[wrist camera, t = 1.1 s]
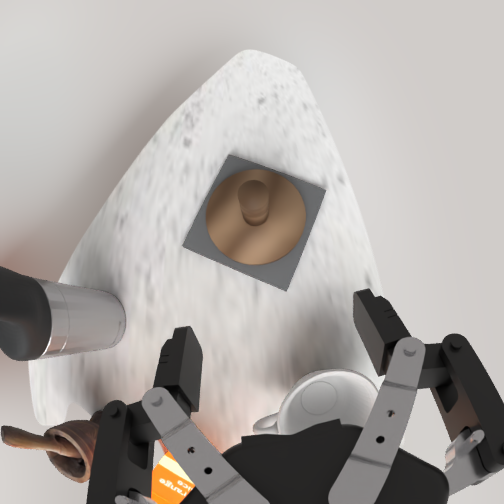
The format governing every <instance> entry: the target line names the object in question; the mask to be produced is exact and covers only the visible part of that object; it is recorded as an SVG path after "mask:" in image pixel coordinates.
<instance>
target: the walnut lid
mask: <svg viewBox="0 0 504 504" xmlns="http://www.w3.org/2000/svg"><path fill="white" fill-rule="evenodd" d="M305 222H306V211H305V205H304V202H303V199H302V197H301V195H300V193H299V191H298V190H297V189H296V187H295V186H294V185H293V184H292V183H291V182H290V181H288V180H287V179H286V178H284V177H283V176H281V175H279V174H277V173H274V172H271V171H267V170H259V169H254V170H246V171H242V172H238V173H236V174H234V175H232V176H230V177H228V178H227V179H225V180H224V181H223V182H222V183H221V184H220V185H219V186H218V187H217V188H216V189H215V190H214V192H213V193H212V195H211V197H210V199H209V202H208V205H207V209H206V226H207V230H208V233H209V235H210V237H211V239H212V241H213V242H214V244H215V245H216V246H217V248H218V249H219V250H220V251H221V252H222V253H223V254H224V255H226V256H227V257H229V258H230V259H232V260H234V261H236V262H239V263H242V264H247V265H264V264H269V263H272V262H275V261H277V260H279V259H281V258H283V257H284V256H286V255H287V254H288V253H289V252H290V251H291V250H292V249H293V248H294V247H295V246H296V244H297V243H298V241H299V240H300V238H301V235H302V233H303V230H304V227H305Z"/></svg>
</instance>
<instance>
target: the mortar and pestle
mask: <svg viewBox="0 0 504 504" xmlns="http://www.w3.org/2000/svg"><path fill="white" fill-rule="evenodd" d="M101 415H102V411H97V412H95V413H94V415H93V416H92V418H91V419H90V421H88V420H74V421H68V422H65V423H63V424H60V425H58V426H54V427H52V428H50V429H48V430H47V431H46V432H45V433H44V436H41V435H35V434H32V433H29V432H27V431H24V430H22V429H19V428H15V427H12V426H2V427H1V436H2V441H3V442H4V443H5V444H7V445H9V446H12V447H18V448H24V449H37V450H46V453H47V455H48V456H49V458H50V461H51V462H52V464H53V465H54V466H55V467H56V468H57V469H58V471H59V472H61V473H62V474H63V475H65V476H66V477H67V478H69V479H71V480H73V481H76V482H79V483H83V482H86V481H87V480H89V479H90V472H91V466H92V460H93V454H94V449H95V444H96V439H97V434H98V429H99V424H100V420H101Z"/></svg>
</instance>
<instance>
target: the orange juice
mask: <svg viewBox="0 0 504 504" xmlns="http://www.w3.org/2000/svg"><path fill="white" fill-rule="evenodd" d="M194 486H195V485H194V484H193V482H192V481H191V480H190V479H189V477H188V476H187V475H186V474H185V472H184V471H183V470H182V468H181V467H180V466H179V464H178V463H177V462H176V460H175V459H174V458H173V456H172V455H171V453H170V452H169V451H168V452H167V453H166V454H165V455H164V456H163V458H162V459H161V460H160V461H159V463H158V464H157V465H156V467H155V468H154V470H153V472H152V496H151V499H153V500H154V501H155V502H156V503H157V504H179V503H180V502H181V501H182V500H183V499H184V498H185V497H186V495H187V494H188V493H189V492H190V491H191V490H192V489H193V488H194Z"/></svg>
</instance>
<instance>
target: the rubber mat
mask: <svg viewBox="0 0 504 504" xmlns="http://www.w3.org/2000/svg"><path fill="white" fill-rule="evenodd" d="M254 169H259V170H267V171H271V172H274V173H277V174H279V175H281V176H283V177H284V178H286V179H287V180H288V181H290V182H291V183H292V184H293V185H294V186H295V187H296V189H297V190H298V191H299V193H300V195H301V197H302V199H303V202H304V205H305V211H306V222H305V227H304V230H303V233H302V235H301V238H300V240H299V241H298V243H297V244H296V246H295V247H294V248H293V249H292V250H291V251H290V252H289V253H288V254H287V255H286V256H284V257H283V258H281V259H279V260H277V261H275V262H272V263H269V264H264V265H247V264H242V263H239V262H236V261H234V260H232V259H230V258H229V257H227V256H226V255H224V254H223V253H222V252H221V251H220V250H219V249H218V248H217V246H216V245H215V244H214V242H213V241H212V239H211V237H210V235H209V233H208V230H207V226H206V209H207V205H208V202H209V199H210V197H211V195H212V193H213V192H214V190H215V189H216V188H217V187H218V186H219V185H220V184H221V183H222V182H223V181H224V180H225V179H227V178H228V177H230V176H232V175H234V174H236V173H238V172H242V171H246V170H254ZM325 192H326V190H325V189H322V188H320V187H317V186H315V185H312V184H310V183H307V182H305V181H302V180H300V179H297V178H294V177H292V176H289V175H286V174H284V173H281V172H278V171H276V170H273V169H270V168H267V167H265V166H262V165H259V164H256V163H253V162H250V161H247V160H244V159H241V158H238V157H235V156H232V155H228V157H227V159H226V161H225V163H224V165H223V166H222V168H221V170H220V172H219V174H218V176H217V178H216V180H215V182H214V183H213V185H212V187H211V189H210V191H209V193H208V195H207V197H206V199H205V201H204V203H203V205H202V207H201V209H200V211H199V213H198V215H197V217H196V219H195V221H194V223H193V225H192V227H191V229H190V231H189V233H188V235H187V237H186V239H185V241H184V244H183V247H184V248H187V249H189V250H191V251H193V252H196V253H198V254H200V255H202V256H205V257H207V258H209V259H212V260H214V261H216V262H219V263H221V264H223V265H225V266H228V267H230V268H232V269H235V270H237V271H239V272H242V273H244V274H246V275H249V276H251V277H253V278H256V279H258V280H260V281H263V282H265V283H268V284H270V285H272V286H275V287H277V288H279V289H282V290H284V291H287V289H288V287H289V284H290V282H291V279H292V277H293V275H294V272H295V270H296V267H297V265H298V262H299V260H300V257H301V255H302V252H303V250H304V247H305V245H306V242H307V240H308V237H309V235H310V232H311V229H312V227H313V224H314V222H315V219H316V216H317V214H318V211H319V208H320V206H321V203H322V200H323V198H324V195H325Z"/></svg>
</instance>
